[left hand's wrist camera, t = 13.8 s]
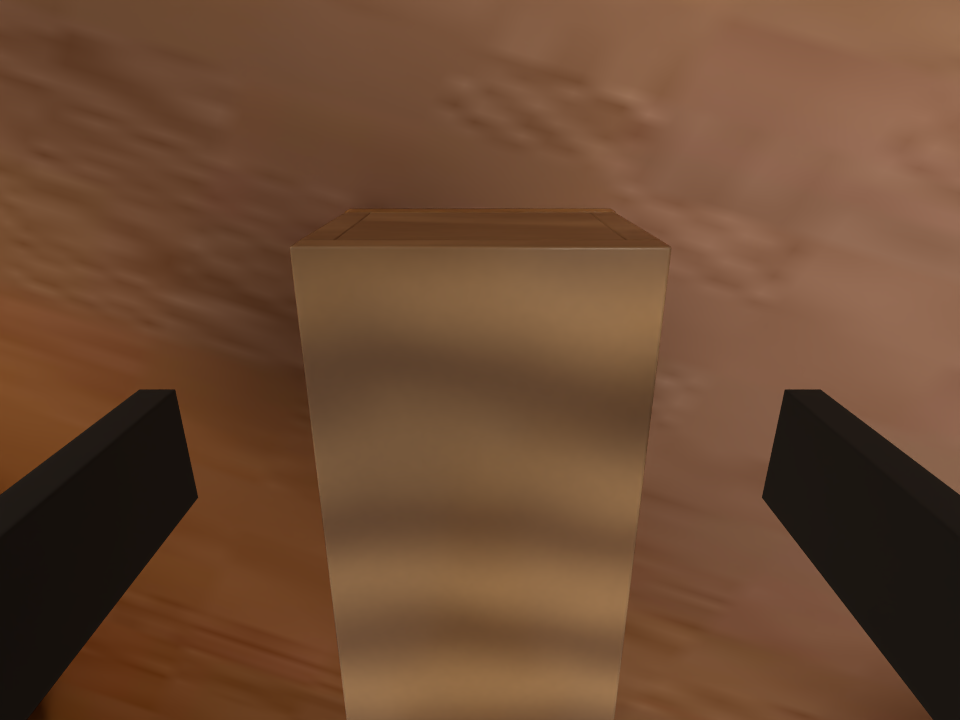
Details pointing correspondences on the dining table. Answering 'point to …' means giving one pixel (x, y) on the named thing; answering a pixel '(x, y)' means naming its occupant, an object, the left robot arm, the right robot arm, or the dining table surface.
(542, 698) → the brown wooden block
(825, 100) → the dining table surface
